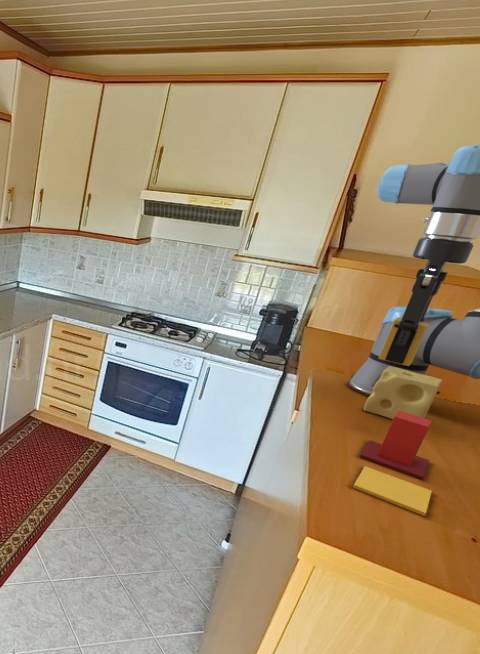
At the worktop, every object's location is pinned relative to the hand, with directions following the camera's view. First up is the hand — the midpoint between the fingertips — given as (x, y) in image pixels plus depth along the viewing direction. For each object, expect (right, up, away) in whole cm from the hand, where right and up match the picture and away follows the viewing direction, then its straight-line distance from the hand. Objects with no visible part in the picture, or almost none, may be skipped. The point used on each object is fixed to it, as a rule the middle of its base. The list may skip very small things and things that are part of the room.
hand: (395, 359), depth 97 cm
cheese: (+14, -13, +17) cm, 26 cm away
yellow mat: (-16, -22, -17) cm, 32 cm away
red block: (-6, -18, -6) cm, 20 cm away
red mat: (-6, -19, -6) cm, 21 cm away
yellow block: (0, 0, 0) cm, 0 cm away
